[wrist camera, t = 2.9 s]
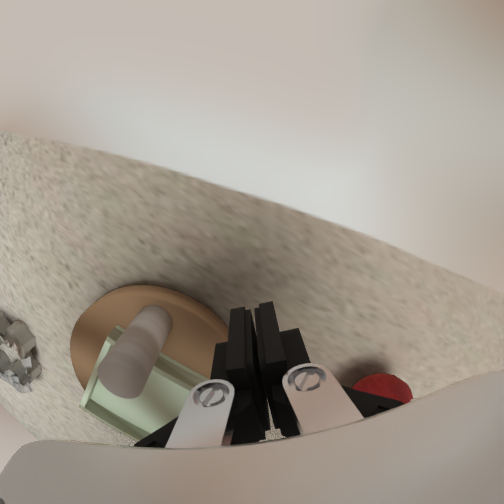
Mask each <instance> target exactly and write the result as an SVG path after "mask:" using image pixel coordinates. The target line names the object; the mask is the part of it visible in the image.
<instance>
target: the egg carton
mask: <svg viewBox="0 0 504 504" xmlns="http://www.w3.org/2000/svg"><path fill="white" fill-rule="evenodd" d="M3 342H4V344H6V345H7V346H8V347H9V348H10V347H13V348H14V349H15V350H16V351H17V352H18V356H19V357H20V359H21V360H17V361H15V362H14V363H12V362H10V360H9V358H8V356H7V354H6V353H5V352H4V351H3V350H1V349H0V378H1V379H3V380H4V381H6V382H8V383H10V384H11V385H12V386H13V387H14V388H15V389H16V390H17V391H19V392H21V393H27V392H31V391H34V387H33V386H32V385H30V383H31V382H32V381H33V380H34V379H35V378H36V377H37V376H38V375H39V374H40V373H41V371H42V368H41V364H40V363H39V362H38V361H37V360H36V359H35V358H34V357H33V355H32V353H31V349H32V348H33V347H34V346H35V345H36V339H35V336H34V335H33V334H31V333H30V332H29V330H28V329H27V327H26V324H25V323H24V322H22V321H20V320H18V321H14V323H13V324H12V325H11V324H10V323H9V321H8V320H7V319H6V316H5V313H4V312H0V345H1V344H2V343H3Z"/></svg>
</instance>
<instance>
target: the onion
mask: <svg viewBox="0 0 504 504" xmlns="http://www.w3.org/2000/svg"><path fill="white" fill-rule="evenodd" d="M352 389H355V390H359V391H363V392H367V393H370V394H374V395H378V396H383V397H387V398H391V399H395V400H398V401H401V402H403V403H404V404H407V403H409V402H410V401H411V399H413V396H412V393H411V390H410V388H409V386H408V385H407V383H405V382H404V381H402V380H401V379H399V378H398V377H396V376H395V375H390V374H383V373H378V374H373V375H368V376H366V377H364V378H362V379H360V380H359V381H358V382H357V383H356V384H355V385H354V386H353V387H352Z"/></svg>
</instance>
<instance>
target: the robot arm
mask: <svg viewBox="0 0 504 504" xmlns="http://www.w3.org/2000/svg"><path fill="white" fill-rule="evenodd" d="M259 307H260V308H255V321H256V331H255V327H254V322H253V318H252V314H251V310H250V309H249V310H245V307H241V308H235V309H231V312H230V323H229V333H228V341H227V342H221V343H216V345H215V351H214V357H213V363H212V370H211V376H210V380H208V381H205V382H202V383H200V384H198V385H196V386H195V387H194V388H193V389H192V390H191V391H190V393H189V395H188V397H187V399H186V401H185V404H184V406H183V408H182V410H181V413H180V415H179V416H178V417H176V418H175V419H173V420H172V421H170V422H169V423H167V424H166V425H164V426H162V427H161V428H159V429H158V430H156V431H154V432H153V433H151V434H150V435H148V436H146V437H145V438H143V439H141V440H140V441H139V442H137V443H136V444H135V445H134V446H130V445H121V446H119V445H109V444H99V443H89V442H81V441H73V440H43V441H36V442H32V443H29V444H26V445H24V446H22V447H21V448H20V449H19V450H18V451H17V452H16V453H15V454H14V455H13V456H12V458H11V459H10V460H9V462H8V463H7V465H6V466H5V467H4V469H3V471H2V472H1V474H0V504H504V370H499V371H493V372H488V373H483V374H480V375H477V376H473V377H470V378H467V379H465V380H462V381H460V382H457V383H454V384H452V385H450V386H447V387H445V388H443V389H441V390H438V391H436V392H434V393H431V394H429V395H426V396H424V397H420V398H415V399H411V401H410V402H409V403H407V404H404V403H403V402H401V401H398V400H395V399H391V398H387V397H383V396H378V395H374V394H370V393H367V392H363V391H359V390H355V389H352V388H348V387H345V386H341V385H340V384H339V383H338V381H337V380H336V378H335V377H334V376H333V374H332V373H331V371H330V370H329V369H328V368H327V367H325V366H323V365H321V364H316V363H311V362H310V360H309V357H308V354H307V351H306V348H305V345H304V342H303V340H302V337H301V334H300V331H299V329H298V328H296V329H292V330H287V331H282V332H279V327H278V323H277V319H276V314H275V310H274V305H273V301H272V302H267V303H262V304H259ZM256 333H257V335H256ZM267 399H268V401H267ZM268 403H269V407H270V411H271V415H272V419H273V423H274V427H275V429H279V428H280V430H281V434H282V435H283V436H285V437H287V438H281V439H275V440H269V441H262V442H258V441H259V440H264V439H266V437H265V431H267V430H270V420H269V410H268Z"/></svg>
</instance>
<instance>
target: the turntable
mask: <svg viewBox="0 0 504 504" xmlns="http://www.w3.org/2000/svg"><path fill="white" fill-rule="evenodd" d="M228 333H229V329H228V328H227V326H226V325H225V324H224V323H223V322H222V321H221V320H220V319H219V317H217V316H216V315H215V314H214V313H213V312H212V311H211V310H209V309H208V308H207V307H205V306H204V305H202V304H201V303H200V302H198V301H196V300H194V299H193V298H191V297H189V296H187V295H185V294H182V293H180V292H177V291H175V290H171V289H168V288H164V287H159V286H153V285H132V286H125V287H122V288H118V289H115V290H113V291H111V292H109V293H107V294H105V295H104V296H102V297H101V298H100V299H98V300H97V301H96V302H95V303H94V304H93V305H91V306H90V307H89V308H88V309H87V310H86V311H85V312H84V313H83V314H82V315H81V316H80V318H79V319H78V321H77V322H76V324H75V326H74V329H73V331H72V336H71V342H70V353H71V360H72V364H73V368H74V370H75V373H76V376H77V378H78V380H79V382H80V384H81V385H82V387H83V388H84V390H85V392H84V395H83V398H82V400H81V403H80V406H79V407H80V408H81V409H83V410H84V411H86V412H87V413H89V414H90V415H92V416H93V417H95V418H96V419H98V420H100V421H101V422H103V423H105V424H106V425H108V426H110V427H111V428H113V429H115V430H117V431H118V432H120V433H122V434H124V435H126V436H128V437H129V438H131V439H133V440H135V441H137V442H139V441H140V440H141V439H143V438H145V437H146V436H148V435H150V434H151V433H153V432H154V431H156V430H158V429H159V428H161V427H162V426H164V425H166V424H167V423H169V422H170V421H172V420H173V419H175V418H176V417H178V416H179V415H180V413H181V410H182V408H183V406H184V404H185V401H186V399H187V397H188V395H189V393H190V391H191V390H192V389H193V388H194V387H195V386H196V385H198V384H200V383H202V382H205V381H208V380H210V376H211V370H212V363H213V357H214V351H215V345H216V343H221V342H227V341H228Z"/></svg>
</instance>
